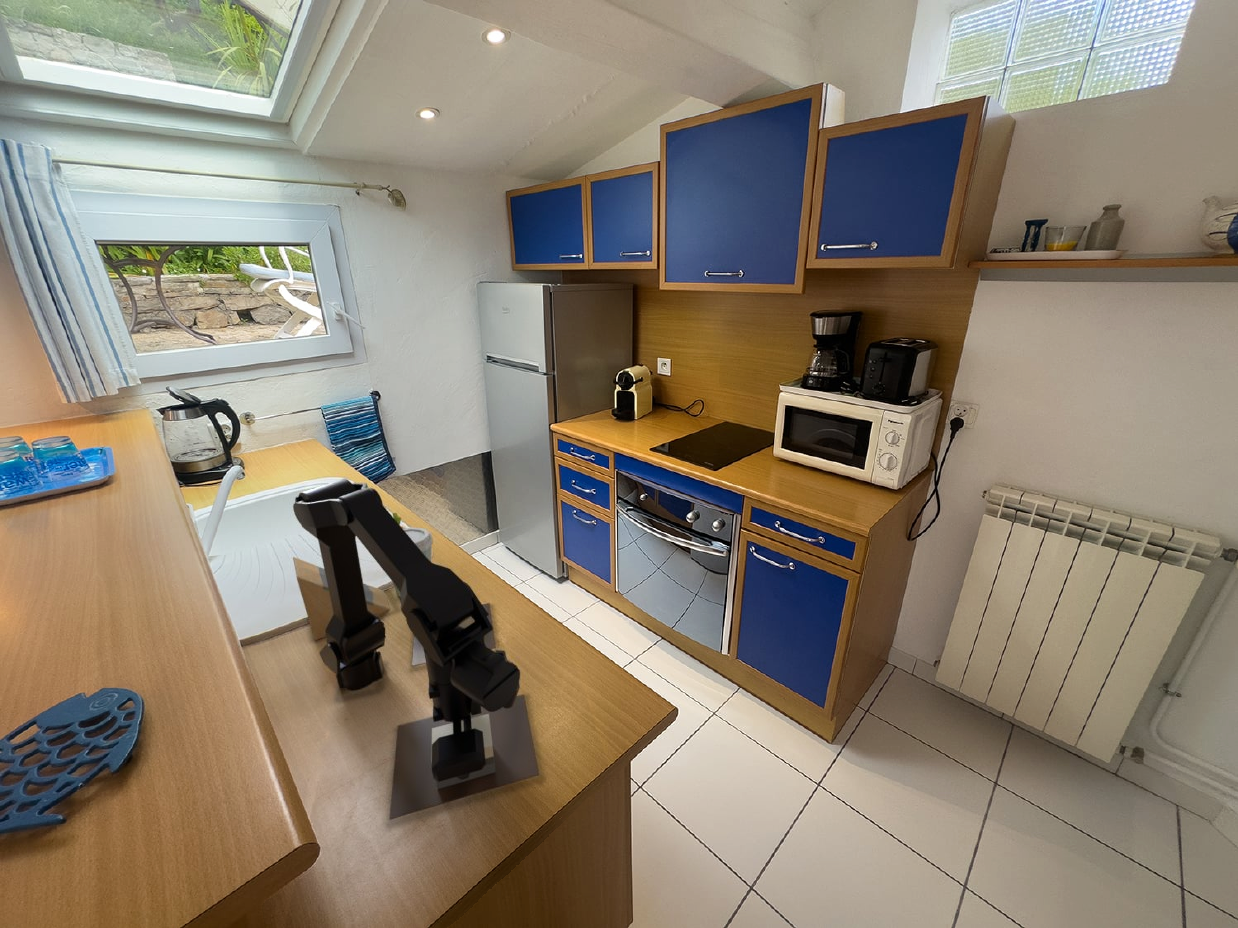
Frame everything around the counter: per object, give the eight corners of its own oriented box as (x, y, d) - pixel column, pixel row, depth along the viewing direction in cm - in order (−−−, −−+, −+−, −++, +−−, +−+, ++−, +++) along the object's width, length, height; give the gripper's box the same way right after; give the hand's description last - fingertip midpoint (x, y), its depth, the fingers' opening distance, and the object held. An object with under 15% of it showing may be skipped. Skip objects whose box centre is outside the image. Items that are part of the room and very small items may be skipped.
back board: (412, 670, 90) (411, 665, 90) (415, 620, 102) (415, 616, 102) (496, 651, 95) (495, 647, 94) (489, 606, 107) (489, 602, 106)
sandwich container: (397, 611, 105) (385, 551, 99) (314, 641, 96) (296, 577, 91) (387, 591, 111) (375, 533, 105) (309, 617, 103) (292, 556, 97)
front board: (390, 824, 66) (389, 819, 65) (398, 729, 79) (397, 725, 78) (539, 779, 72) (539, 774, 71) (524, 698, 85) (524, 693, 84)
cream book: (433, 773, 67) (431, 762, 66) (433, 738, 72) (431, 727, 71) (493, 756, 69) (492, 745, 69) (490, 724, 74) (488, 713, 73)
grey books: (437, 789, 69) (433, 770, 67) (437, 760, 73) (433, 741, 71) (495, 772, 71) (493, 753, 70) (492, 745, 75) (490, 726, 74)
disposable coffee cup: (383, 589, 112) (372, 532, 106) (431, 572, 118) (423, 517, 112) (397, 614, 104) (385, 554, 98) (447, 595, 110) (439, 537, 104)
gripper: (522, 709, 59) (529, 795, 65) (505, 611, 75) (512, 687, 81) (423, 734, 56) (441, 822, 62) (427, 626, 72) (441, 704, 78)
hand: (463, 750), depth 71 cm, fingers open, 8 cm apart
